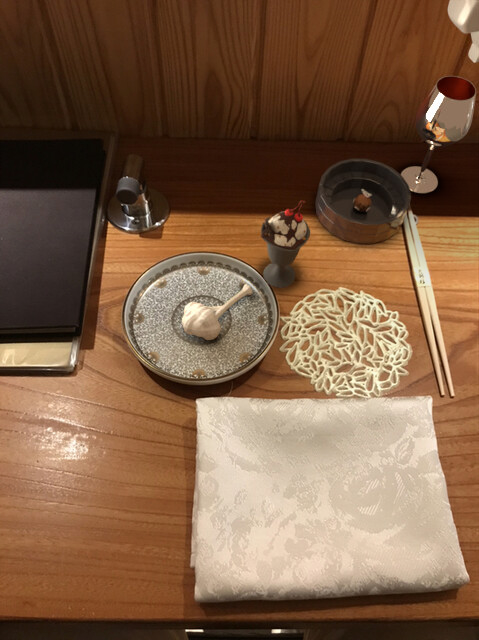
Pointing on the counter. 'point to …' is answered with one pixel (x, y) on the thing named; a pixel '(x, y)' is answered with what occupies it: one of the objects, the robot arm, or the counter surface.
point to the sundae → (283, 245)
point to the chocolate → (362, 202)
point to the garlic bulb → (208, 316)
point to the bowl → (348, 183)
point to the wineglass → (441, 125)
